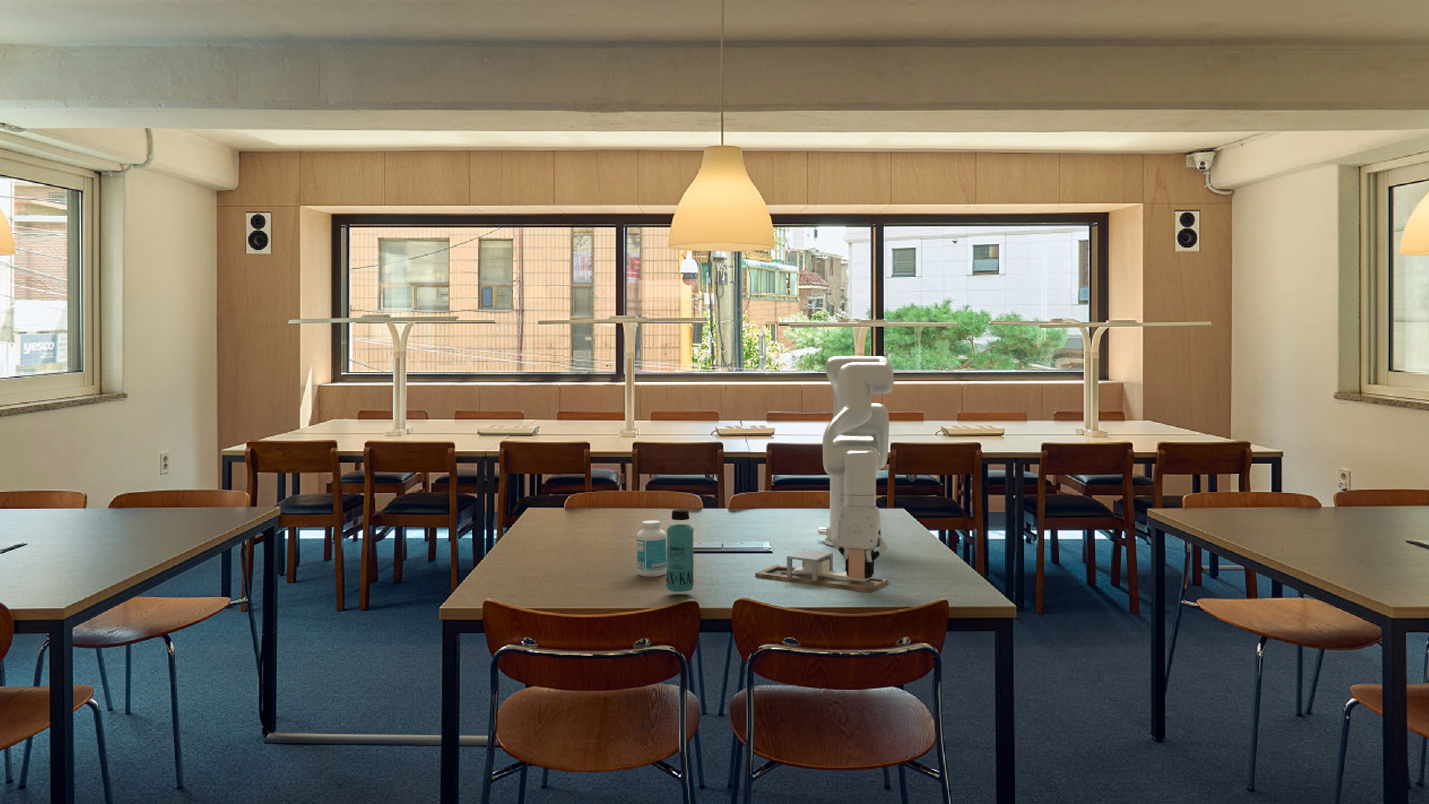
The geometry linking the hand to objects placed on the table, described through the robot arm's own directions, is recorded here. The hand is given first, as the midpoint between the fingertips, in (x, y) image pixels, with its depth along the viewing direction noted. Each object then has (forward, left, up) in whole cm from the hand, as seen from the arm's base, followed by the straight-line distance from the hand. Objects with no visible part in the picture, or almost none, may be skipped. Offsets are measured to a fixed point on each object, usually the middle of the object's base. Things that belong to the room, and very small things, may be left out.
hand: (859, 575), depth 237 cm
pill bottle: (-50, -17, -3) cm, 52 cm away
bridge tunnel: (-13, 0, -1) cm, 13 cm away
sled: (-7, 0, -1) cm, 8 cm away
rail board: (-10, 0, -2) cm, 11 cm away
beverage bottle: (-32, -31, -3) cm, 44 cm away
